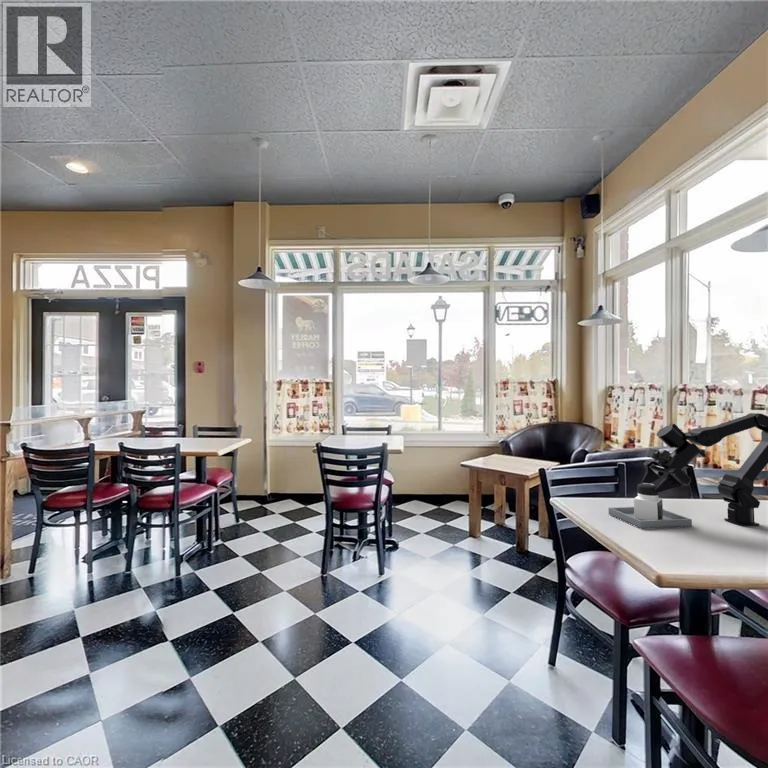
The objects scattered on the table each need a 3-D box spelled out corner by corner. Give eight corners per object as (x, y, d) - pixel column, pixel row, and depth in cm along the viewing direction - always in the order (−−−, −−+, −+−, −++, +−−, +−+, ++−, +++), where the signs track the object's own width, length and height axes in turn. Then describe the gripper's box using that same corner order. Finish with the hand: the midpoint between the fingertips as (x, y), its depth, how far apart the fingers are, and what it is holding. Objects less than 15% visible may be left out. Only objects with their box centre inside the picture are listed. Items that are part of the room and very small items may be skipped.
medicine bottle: (658, 523, 130) (657, 487, 130) (634, 518, 135) (632, 484, 135) (663, 518, 135) (661, 484, 135) (639, 514, 140) (638, 481, 140)
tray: (654, 512, 143) (654, 506, 143) (692, 527, 127) (691, 519, 127) (608, 514, 142) (608, 507, 142) (640, 529, 126) (640, 521, 126)
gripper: (648, 438, 144) (617, 467, 145) (679, 443, 126) (644, 477, 127) (671, 459, 143) (641, 488, 144) (706, 468, 124) (671, 501, 125)
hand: (648, 488), depth 135 cm, fingers open, 9 cm apart
